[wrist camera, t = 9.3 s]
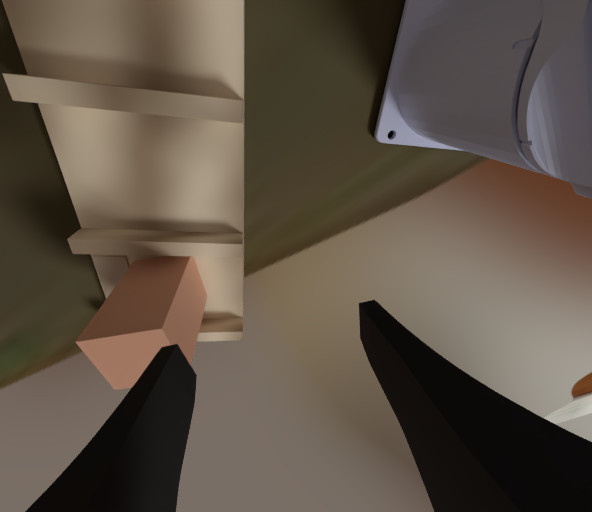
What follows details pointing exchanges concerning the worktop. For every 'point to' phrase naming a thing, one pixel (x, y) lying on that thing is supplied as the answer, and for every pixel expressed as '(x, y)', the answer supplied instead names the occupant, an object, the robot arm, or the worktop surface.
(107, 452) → the robot arm
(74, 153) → the notched rack
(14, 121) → the worktop surface
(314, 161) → the worktop surface
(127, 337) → the block
